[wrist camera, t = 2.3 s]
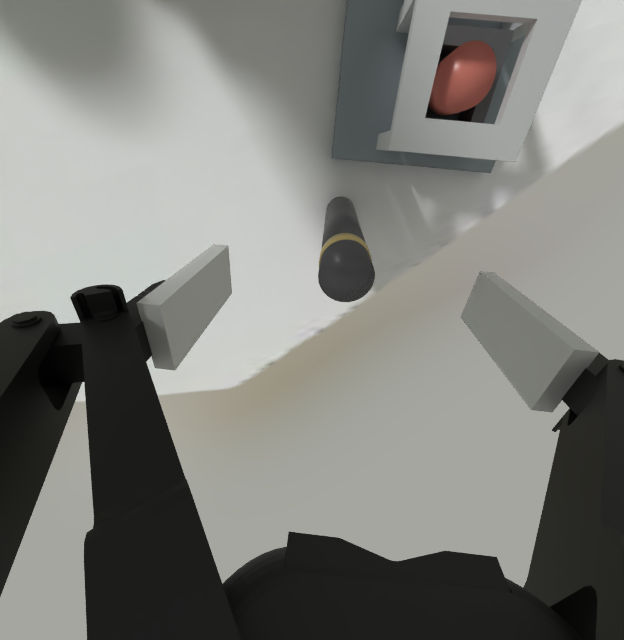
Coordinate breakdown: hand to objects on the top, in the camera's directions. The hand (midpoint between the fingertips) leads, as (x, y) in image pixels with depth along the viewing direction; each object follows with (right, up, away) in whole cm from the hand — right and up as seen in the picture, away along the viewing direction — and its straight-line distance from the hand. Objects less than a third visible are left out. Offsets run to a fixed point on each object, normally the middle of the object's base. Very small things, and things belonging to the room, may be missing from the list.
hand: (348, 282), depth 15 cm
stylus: (+1, +10, +15) cm, 18 cm away
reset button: (+9, +16, +6) cm, 19 cm away
